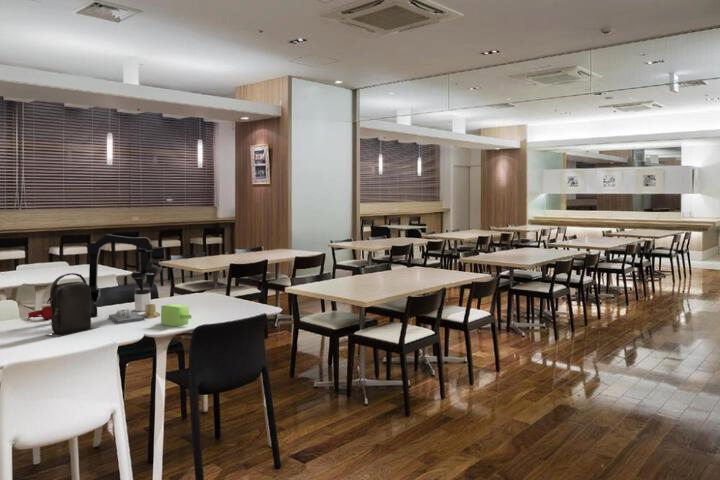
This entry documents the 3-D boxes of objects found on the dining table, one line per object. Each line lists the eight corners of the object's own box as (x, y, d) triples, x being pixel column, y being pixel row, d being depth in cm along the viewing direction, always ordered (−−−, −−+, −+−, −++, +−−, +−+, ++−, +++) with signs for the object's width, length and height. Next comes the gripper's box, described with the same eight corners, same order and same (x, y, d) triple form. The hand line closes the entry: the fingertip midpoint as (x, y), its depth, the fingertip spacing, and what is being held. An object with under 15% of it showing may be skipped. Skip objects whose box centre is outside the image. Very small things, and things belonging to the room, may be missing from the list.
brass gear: (144, 318, 301) (144, 307, 300) (139, 315, 308) (138, 304, 308) (162, 316, 306) (161, 305, 306) (156, 313, 314) (156, 302, 313)
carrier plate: (118, 323, 290) (117, 313, 289) (109, 317, 304) (108, 307, 304) (144, 320, 297) (144, 309, 297) (134, 314, 312) (134, 304, 311)
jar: (138, 312, 318) (137, 290, 317) (132, 309, 324) (131, 288, 323) (154, 309, 324) (153, 288, 323) (147, 307, 330) (146, 286, 329)
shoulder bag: (89, 325, 287) (87, 269, 285) (100, 327, 282) (98, 270, 280) (44, 335, 268) (41, 275, 266) (55, 337, 263) (52, 276, 261)
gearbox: (197, 325, 288) (197, 306, 288) (182, 328, 280) (182, 308, 279) (172, 320, 297) (172, 302, 297) (157, 323, 289) (157, 304, 288)
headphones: (72, 315, 310) (49, 317, 319) (70, 302, 309) (47, 304, 319) (47, 320, 296) (23, 322, 306) (44, 307, 296) (21, 309, 305)
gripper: (149, 262, 303) (150, 292, 304) (167, 258, 321) (169, 286, 322) (130, 262, 305) (131, 291, 306) (149, 258, 323) (151, 285, 324)
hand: (146, 288), depth 315 cm, fingers open, 9 cm apart
